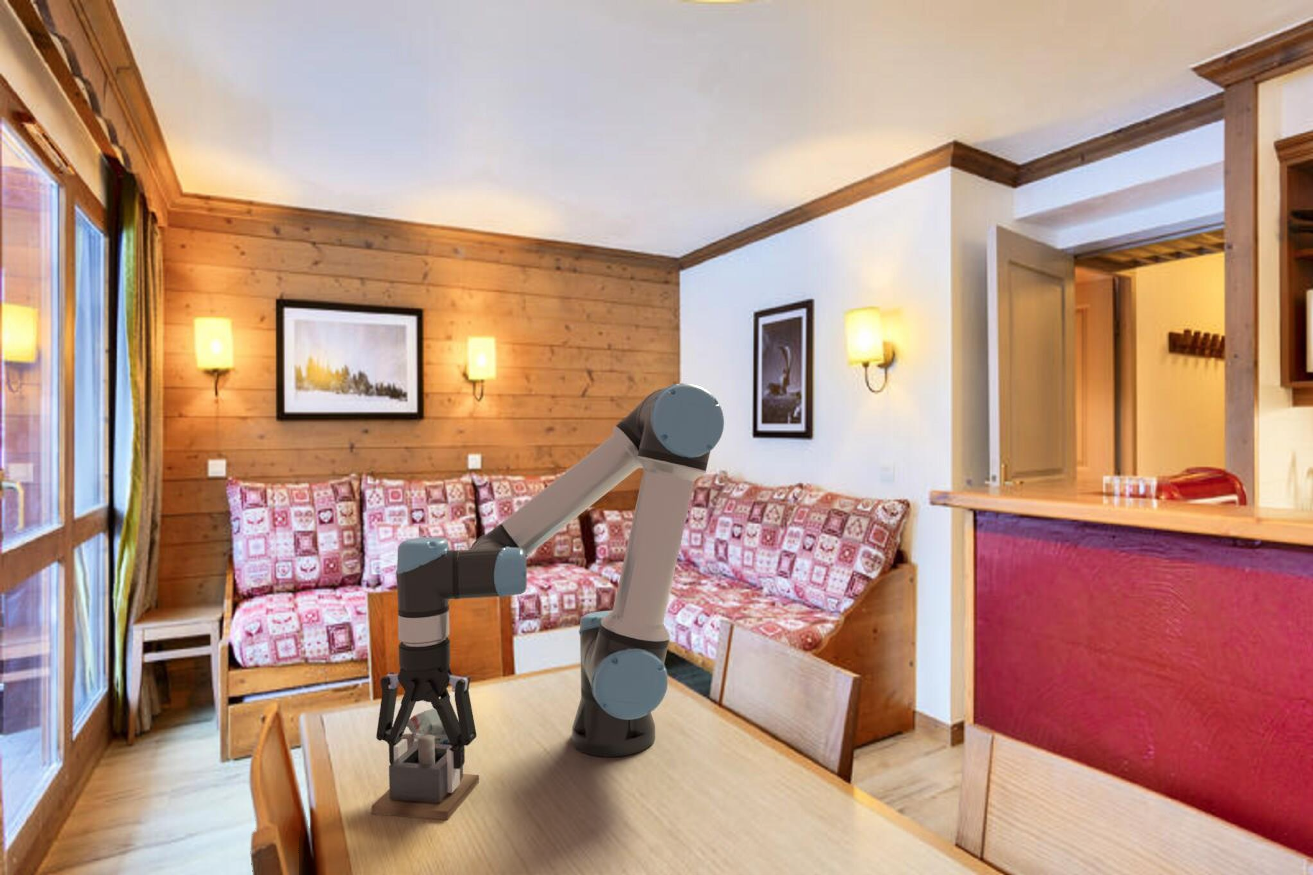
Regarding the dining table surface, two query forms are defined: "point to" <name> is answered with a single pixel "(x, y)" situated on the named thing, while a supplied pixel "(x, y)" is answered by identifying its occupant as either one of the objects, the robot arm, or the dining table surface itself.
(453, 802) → the stand
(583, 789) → the dining table surface
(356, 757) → the dining table surface
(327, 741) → the dining table surface
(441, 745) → the link
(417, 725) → the packaged food
